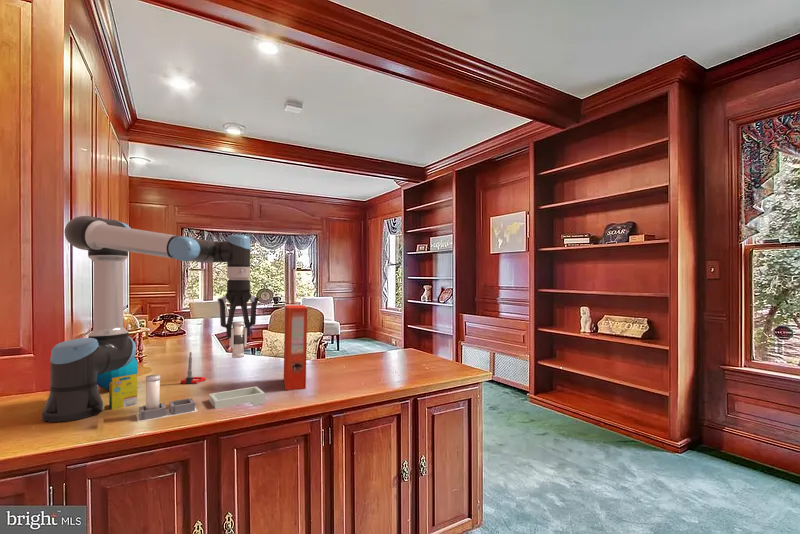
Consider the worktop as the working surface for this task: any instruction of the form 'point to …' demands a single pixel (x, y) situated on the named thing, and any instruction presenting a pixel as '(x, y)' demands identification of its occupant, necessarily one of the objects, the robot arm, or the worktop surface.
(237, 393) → the parts tray
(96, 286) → the robot arm
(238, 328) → the cylinder
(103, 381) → the decorative orb
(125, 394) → the crayon box
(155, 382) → the cylinder
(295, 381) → the file binder
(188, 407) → the block
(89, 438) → the worktop surface
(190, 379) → the tow hook
